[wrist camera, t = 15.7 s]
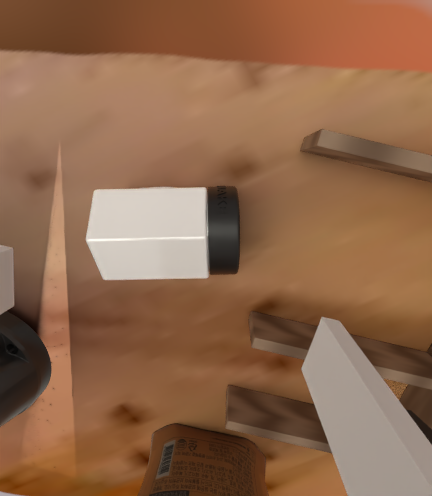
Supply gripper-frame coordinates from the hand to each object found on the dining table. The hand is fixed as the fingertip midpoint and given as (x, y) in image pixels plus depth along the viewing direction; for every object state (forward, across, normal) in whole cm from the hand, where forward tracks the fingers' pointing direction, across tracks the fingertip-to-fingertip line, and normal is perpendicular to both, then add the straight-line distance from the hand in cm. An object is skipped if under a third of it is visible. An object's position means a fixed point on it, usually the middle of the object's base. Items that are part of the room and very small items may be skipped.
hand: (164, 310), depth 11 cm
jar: (+13, -8, -2) cm, 16 cm away
